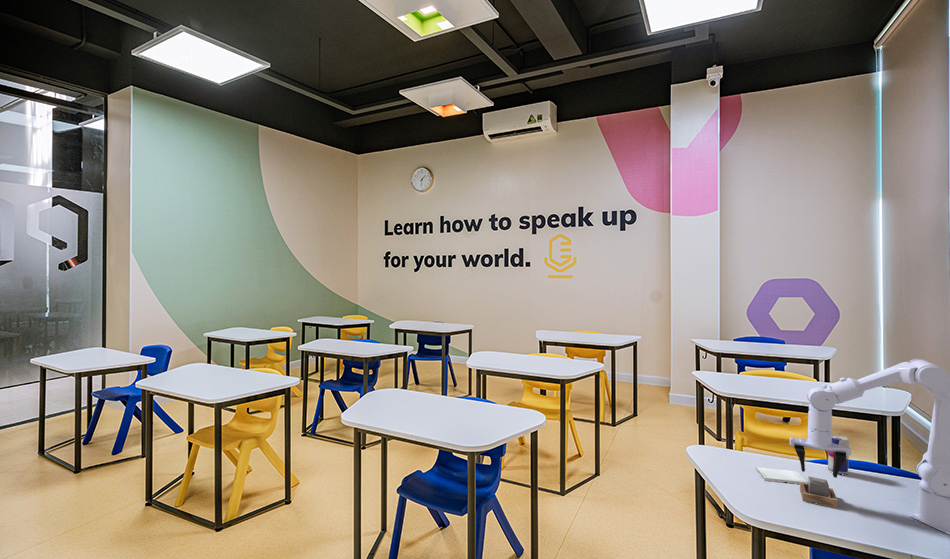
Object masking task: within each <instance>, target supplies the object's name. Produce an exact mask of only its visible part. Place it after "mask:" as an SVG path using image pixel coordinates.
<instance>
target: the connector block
mask: <svg viewBox="0 0 950 559" xmlns="http://www.w3.org/2000/svg"><path fill="white" fill-rule="evenodd" d="M807 479H808V481H807V482H808V493H810V494H814V495H819V496H824V497H829V488H830V485H829V482H828V480H827V479H823V478H819V477H814V476H813V477H812V476H808V478H807Z"/></svg>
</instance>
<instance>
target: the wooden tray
mask: <svg viewBox="0 0 950 559" xmlns="http://www.w3.org/2000/svg"><path fill="white" fill-rule="evenodd" d="M799 491H800V495H801V499H802V502H806V503H809V502H811V503H810V504H814V503H817V504H816V505H818V504H820V506H824V507H827V508H829V507H830V508H832V509H838V498H837V496H836V493H835V490H834V488H832V487H829V497H824V496H819V495H814V494H810V493H808V484H807V483H802V482H800V484H799Z"/></svg>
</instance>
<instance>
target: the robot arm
mask: <svg viewBox="0 0 950 559" xmlns="http://www.w3.org/2000/svg"><path fill="white" fill-rule="evenodd" d="M899 382H900V383H904V384H910V385H916V383H915V382H917V383H919V384H920V385H921V386H923V387H924V388H925V389H926V390H927V391H928V392H930V393H931V394H932V395H933V396H934V402H933V409H932V416H931V422H930V430H929V438H928V445H927V451H926V452H925V453H924V454H922V460H921V461H920V462H919V463H918V464H917V465H916V473H917V475H918V477H919V478H920V479H921V480H920V482H919V483H918V505H917V513H916V512H915V513H912V514H911V513H910V514H909V517H910V518H911V519H915V520H917V521H919V522H921V523H923V524H925V525H927V526H929V527H932V528H934V529H936V530H938V531H940V532H943V533H945V534H947V535H949V536H950V372H948V371H946V370H945V369H944V368H942V367H941V366H939V365H935V364H934V363H932V362H930V361H928V360H927V359H923V358H914V359H911V360H909V361H904V362H899V363H897V364H896V365H892V366H890V367H888V368H885V369H882V370H880V371H877V372H874V373H872V374H869V375H866V376H863V377H861V378H858V379H855V378H852V377H847V378H845V377H840V378H839V381H835V382H833V383H830V384H829V383H828V384H822V385H821V386H822V387H820V386H819V387H818V386H817V387H816V386H815V387H812V388H811V389H810V390H809V391H807V394H806V398H807V400H808V402H809V403H808V404H809V405H808V414H807V415H808V416H807V438H799V437H798V438H796V437H789V446H790V447H793V448H794V450H795V452H796V454H797V457H798V459H799V463H800V469H801V472H802V473H804V472H805V471H806V466H805V462H806V461H805V458H806V451H805V450H806V449H805V448H807V449H813V450H818V451H819V450H820V451H826V452H829V451H831V452H833V462H834V463H833V473H832V476H833V478H834V479H835V478H838V476H839V475H838V472H839V469H840V467H841V466H842V464H843V463H844V462H845V461H846V458H847V457H846V455H849V456H851V455H852V449H851V447H850V446H849V447H847V446H842V445H838V444H834V443H832V435H833V434H832V433H833V414H832V413H833V408H834V407H835V405H840V404H843V403H846V402H849V401H852V400H856V399H858V398H861V397H863V395H864V393H865V391H868V390H872V389H876V388H881V387H884V386H887V385H890V384H894V383H899Z"/></svg>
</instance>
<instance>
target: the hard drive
mask: <svg viewBox="0 0 950 559" xmlns="http://www.w3.org/2000/svg"><path fill="white" fill-rule="evenodd" d="M754 469H755V471H756V472H757V474H758V473H759V474H760V475H761V476H760V475H759V474H758V475H759V476H760V478H762V479H764V480H765V482H772V481H777V482H776V483H782V482H789V483H788V484H792V483H798V484H797V485H800V482H802V483H807V484H808V481H807V480H806V479H805V478H804V477H803V476H802V475H801V474H800V473H799V472H798V471H797V470H796V471H795V470H785V469H775V468H766V467H757V466H756V467H755V468H754ZM764 480H763V481H764Z"/></svg>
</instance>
